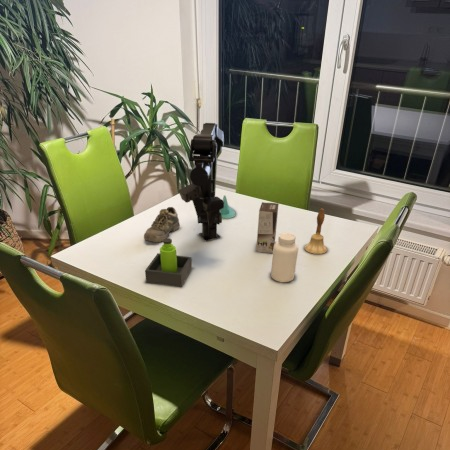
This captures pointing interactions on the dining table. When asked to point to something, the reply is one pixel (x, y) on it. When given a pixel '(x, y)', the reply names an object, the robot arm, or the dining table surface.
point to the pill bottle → (284, 258)
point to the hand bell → (317, 237)
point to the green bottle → (168, 256)
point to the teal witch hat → (227, 210)
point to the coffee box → (267, 227)
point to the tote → (168, 278)
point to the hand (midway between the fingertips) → (204, 220)
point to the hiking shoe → (163, 225)
